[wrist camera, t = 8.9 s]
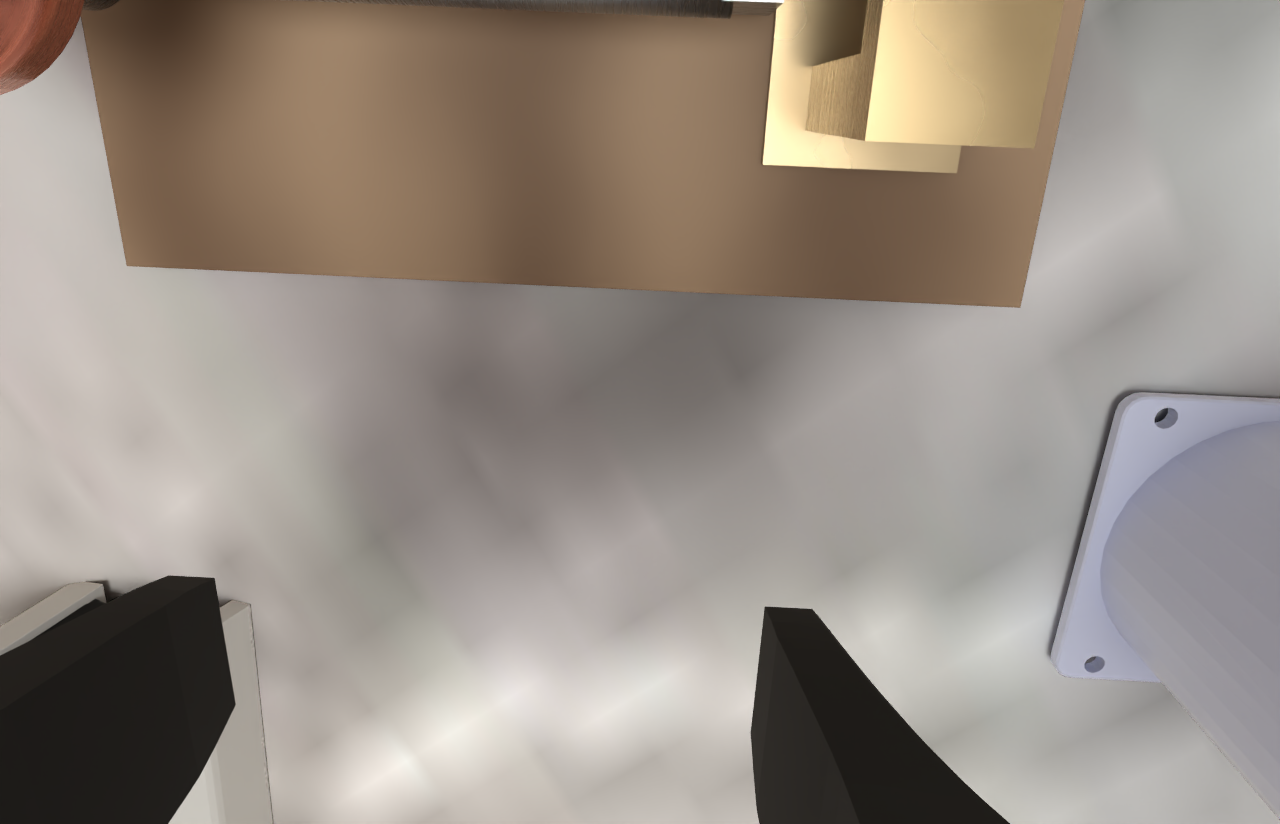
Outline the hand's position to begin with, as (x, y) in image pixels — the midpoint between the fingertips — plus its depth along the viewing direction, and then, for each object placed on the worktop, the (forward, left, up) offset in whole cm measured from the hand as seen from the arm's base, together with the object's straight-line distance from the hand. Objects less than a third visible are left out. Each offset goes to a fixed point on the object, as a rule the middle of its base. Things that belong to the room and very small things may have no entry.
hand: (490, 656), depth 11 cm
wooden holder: (-6, -9, -9) cm, 14 cm away
